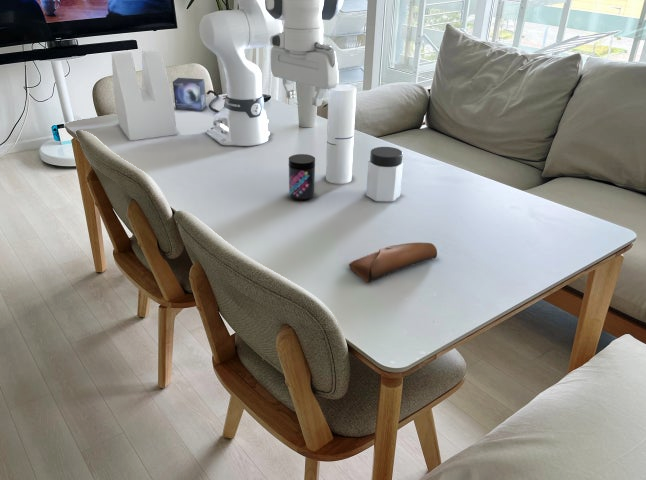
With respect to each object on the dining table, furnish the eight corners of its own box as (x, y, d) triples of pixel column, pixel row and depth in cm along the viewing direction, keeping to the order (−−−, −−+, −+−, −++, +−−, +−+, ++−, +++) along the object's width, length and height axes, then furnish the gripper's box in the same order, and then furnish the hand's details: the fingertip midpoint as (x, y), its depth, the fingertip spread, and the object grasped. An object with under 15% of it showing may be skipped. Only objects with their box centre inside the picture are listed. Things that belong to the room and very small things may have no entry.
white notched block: (118, 124, 206) (106, 48, 193) (162, 119, 211) (153, 45, 198) (130, 140, 191) (118, 59, 178) (176, 134, 197) (168, 55, 184)
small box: (174, 110, 221) (171, 81, 216) (180, 105, 227) (177, 77, 221) (201, 111, 220) (199, 82, 215) (207, 106, 226) (204, 78, 220)
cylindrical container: (349, 184, 161) (354, 91, 148) (323, 182, 162) (326, 89, 149) (352, 175, 167) (358, 85, 154) (328, 173, 168) (331, 83, 155)
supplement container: (284, 194, 155) (283, 156, 150) (306, 190, 158) (307, 152, 152) (296, 204, 150) (296, 165, 144) (319, 199, 153) (320, 160, 147)
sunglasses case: (410, 243, 131) (423, 225, 126) (427, 268, 129) (441, 251, 124) (345, 265, 123) (357, 247, 117) (362, 292, 120) (375, 276, 115)
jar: (398, 189, 158) (402, 146, 152) (402, 202, 151) (406, 157, 145) (364, 189, 158) (367, 146, 152) (367, 201, 152) (370, 157, 145)
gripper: (345, 44, 129) (343, 107, 136) (285, 34, 143) (286, 92, 150) (324, 47, 126) (323, 112, 133) (265, 36, 139) (267, 96, 146)
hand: (303, 101), depth 141 cm, fingers open, 8 cm apart
